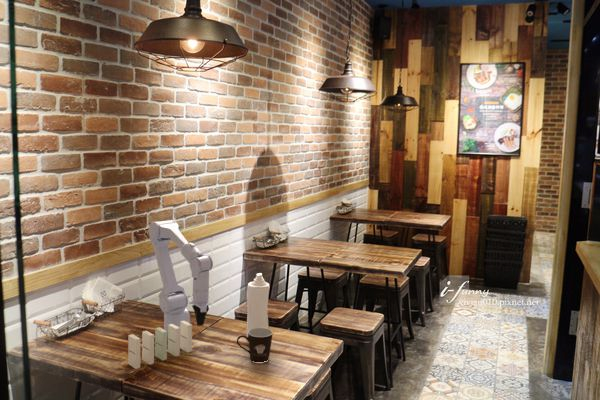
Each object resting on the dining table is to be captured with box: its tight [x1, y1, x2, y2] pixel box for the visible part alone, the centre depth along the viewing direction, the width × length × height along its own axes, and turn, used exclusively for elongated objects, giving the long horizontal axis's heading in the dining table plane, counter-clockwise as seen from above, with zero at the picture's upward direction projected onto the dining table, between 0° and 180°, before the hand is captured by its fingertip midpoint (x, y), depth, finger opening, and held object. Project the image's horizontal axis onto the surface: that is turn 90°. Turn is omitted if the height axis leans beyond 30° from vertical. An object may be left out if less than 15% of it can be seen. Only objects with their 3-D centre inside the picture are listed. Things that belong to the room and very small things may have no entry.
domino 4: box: [167, 324, 181, 357], centre depth 181 cm, size 2×5×10 cm, turn 46°
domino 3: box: [154, 326, 168, 361], centre depth 177 cm, size 2×5×10 cm, turn 46°
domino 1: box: [127, 333, 141, 370], centre depth 170 cm, size 2×5×10 cm, turn 46°
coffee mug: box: [236, 328, 274, 362], centre depth 179 cm, size 12×9×10 cm
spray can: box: [246, 272, 271, 337], centre depth 197 cm, size 12×11×25 cm
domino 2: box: [141, 330, 155, 365], centre depth 174 cm, size 2×5×10 cm, turn 46°
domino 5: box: [180, 321, 193, 353], centre depth 184 cm, size 2×5×10 cm, turn 46°
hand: (200, 324), depth 188 cm, fingers closed
